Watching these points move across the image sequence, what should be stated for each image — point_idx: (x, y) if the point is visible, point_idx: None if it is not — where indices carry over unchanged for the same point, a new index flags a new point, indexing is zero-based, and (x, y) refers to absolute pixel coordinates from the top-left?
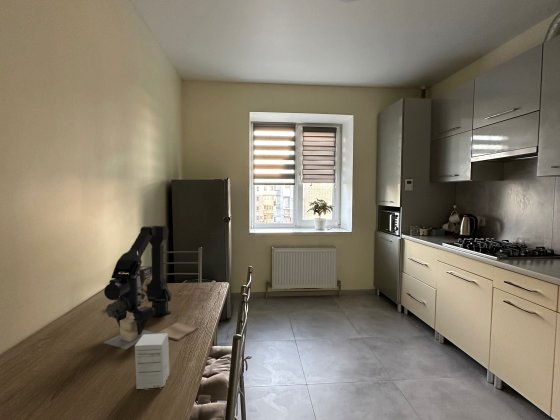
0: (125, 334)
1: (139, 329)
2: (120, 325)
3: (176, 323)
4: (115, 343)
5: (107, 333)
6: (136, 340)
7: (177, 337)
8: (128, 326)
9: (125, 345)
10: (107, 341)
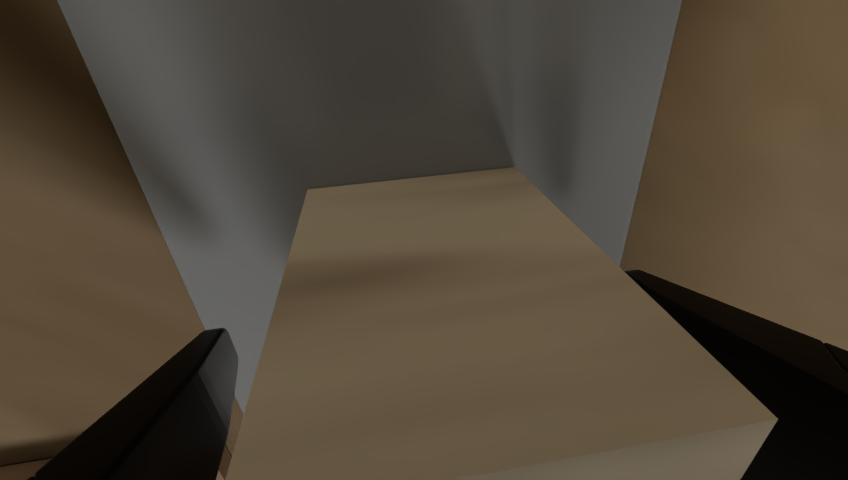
0: (411, 221)
1: (103, 428)
2: (631, 301)
3: None
4: (458, 27)
5: (815, 179)
6: (269, 258)
7: None
8: (295, 373)
9: (229, 70)
10: (649, 7)
